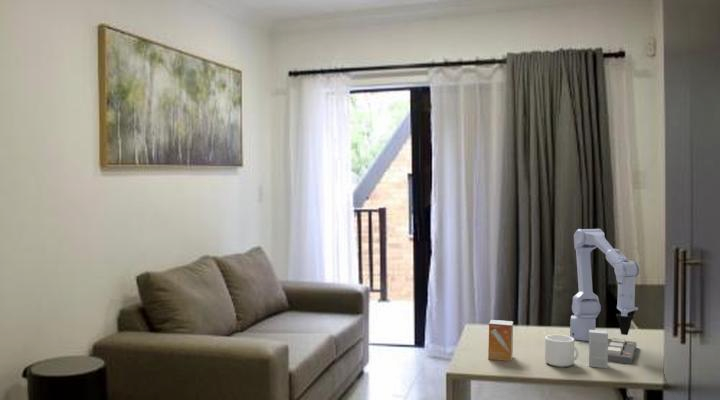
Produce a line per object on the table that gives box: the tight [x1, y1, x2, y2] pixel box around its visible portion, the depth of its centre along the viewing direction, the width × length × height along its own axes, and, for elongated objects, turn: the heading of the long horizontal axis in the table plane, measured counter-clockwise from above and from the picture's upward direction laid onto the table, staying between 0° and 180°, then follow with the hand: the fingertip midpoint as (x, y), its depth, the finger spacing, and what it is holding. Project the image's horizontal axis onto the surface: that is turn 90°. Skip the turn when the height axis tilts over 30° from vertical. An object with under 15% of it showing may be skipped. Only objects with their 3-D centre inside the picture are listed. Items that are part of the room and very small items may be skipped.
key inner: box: [611, 337, 626, 345], centre depth 241 cm, size 4×4×2 cm
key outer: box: [608, 347, 622, 355], centre depth 228 cm, size 4×4×2 cm
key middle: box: [609, 342, 623, 350], centre depth 234 cm, size 4×4×2 cm
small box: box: [487, 319, 514, 362], centre depth 228 cm, size 8×6×13 cm
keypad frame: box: [608, 338, 637, 365], centre depth 234 cm, size 12×23×2 cm, turn 153°
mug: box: [544, 334, 579, 368], centre depth 221 cm, size 12×10×9 cm
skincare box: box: [588, 329, 609, 369], centre depth 219 cm, size 6×4×12 cm
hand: (625, 332), depth 231 cm, fingers open, 7 cm apart
